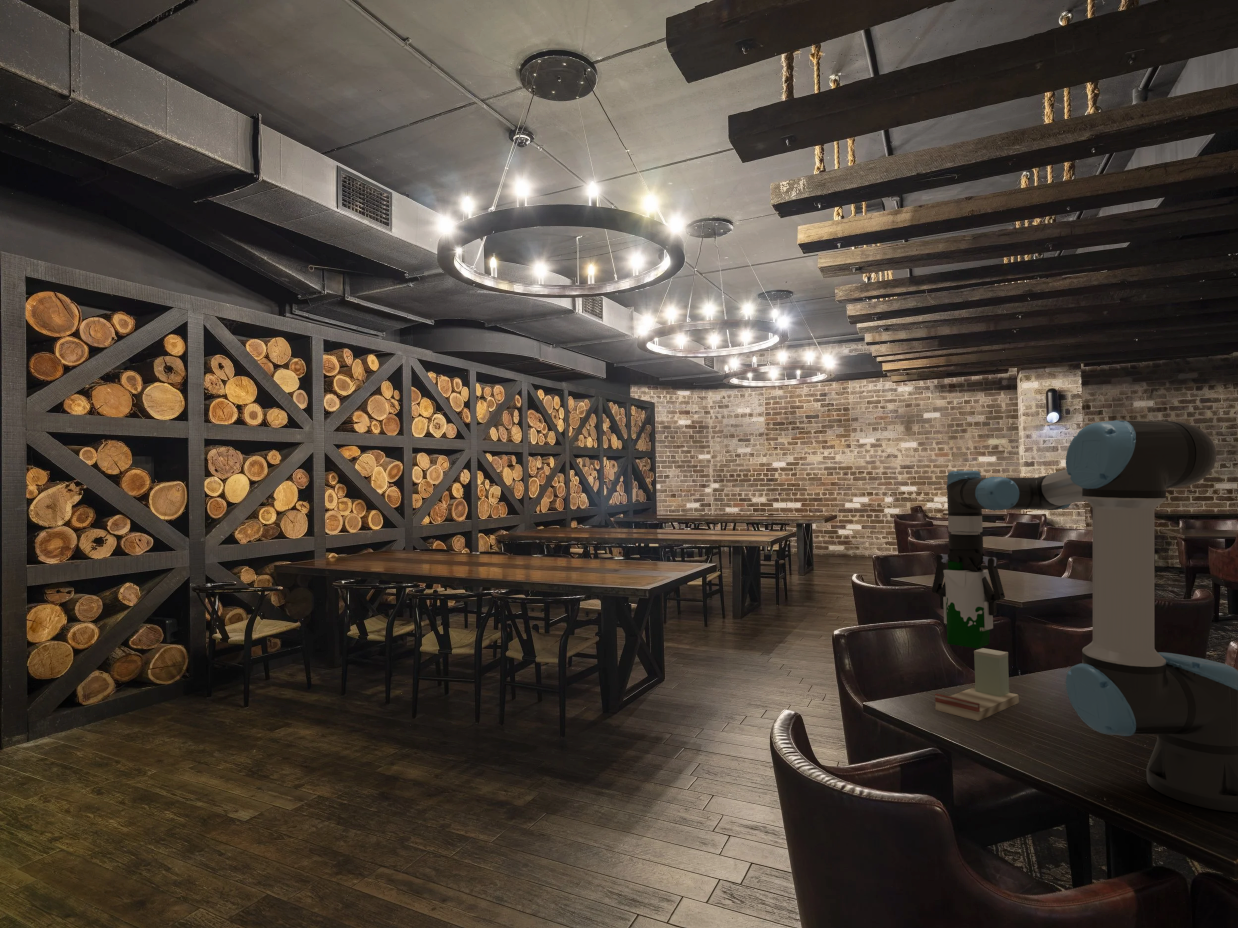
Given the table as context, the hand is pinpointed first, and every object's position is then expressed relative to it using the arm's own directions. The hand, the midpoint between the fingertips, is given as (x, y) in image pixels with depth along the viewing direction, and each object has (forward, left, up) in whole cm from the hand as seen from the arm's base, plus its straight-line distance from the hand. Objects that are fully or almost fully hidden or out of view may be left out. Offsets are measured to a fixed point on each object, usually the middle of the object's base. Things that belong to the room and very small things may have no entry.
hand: (968, 625), depth 161 cm
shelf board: (+4, 0, -20) cm, 21 cm away
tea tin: (+12, 0, -18) cm, 22 cm away
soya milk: (0, 0, -5) cm, 5 cm away
